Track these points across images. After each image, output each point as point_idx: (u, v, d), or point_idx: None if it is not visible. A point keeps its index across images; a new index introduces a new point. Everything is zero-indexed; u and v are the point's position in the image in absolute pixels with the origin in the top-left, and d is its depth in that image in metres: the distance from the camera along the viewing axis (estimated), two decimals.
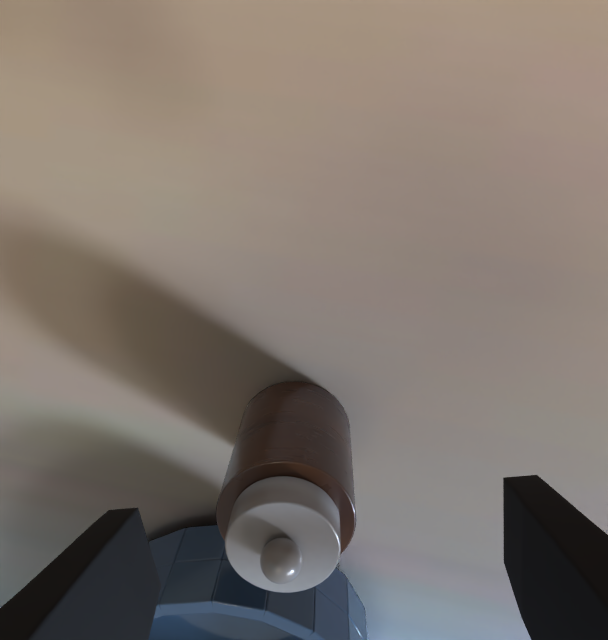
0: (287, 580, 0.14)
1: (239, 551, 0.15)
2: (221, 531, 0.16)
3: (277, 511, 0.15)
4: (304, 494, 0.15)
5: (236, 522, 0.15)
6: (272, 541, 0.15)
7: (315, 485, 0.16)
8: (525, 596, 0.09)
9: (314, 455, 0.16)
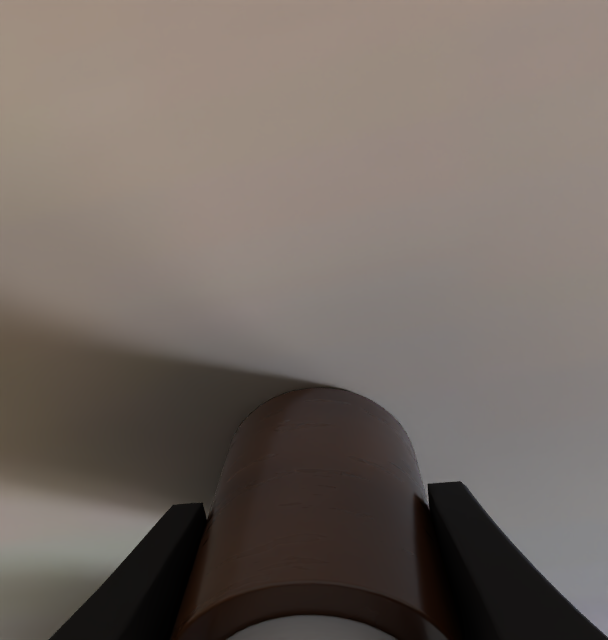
0: None
1: None
2: None
3: None
4: None
5: None
6: None
7: (340, 619, 0.07)
8: None
9: (317, 549, 0.07)
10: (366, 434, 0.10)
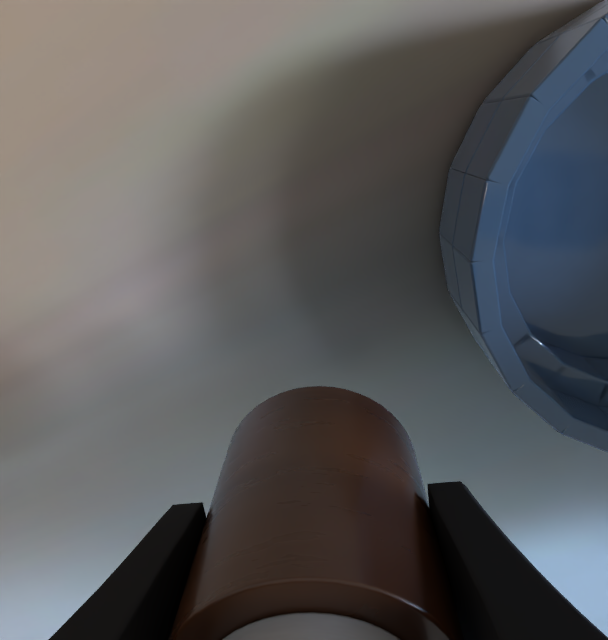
0: None
1: None
2: None
3: None
4: None
5: None
6: None
7: (339, 616, 0.07)
8: None
9: (315, 546, 0.07)
10: (365, 432, 0.10)
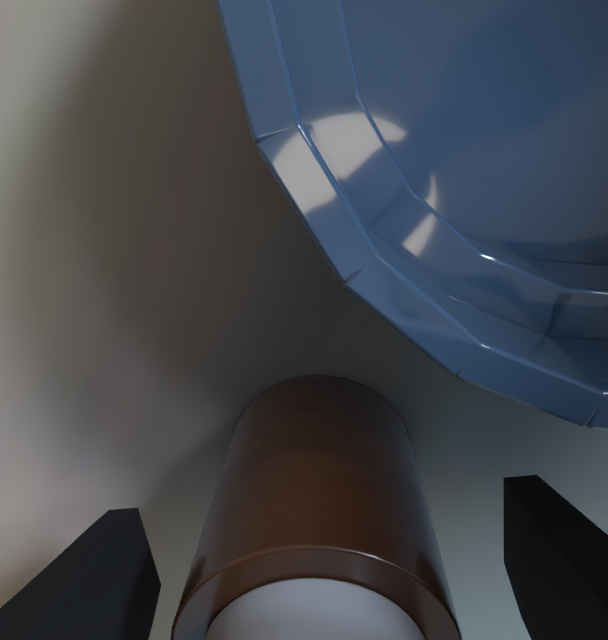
0: None
1: None
2: None
3: None
4: (311, 620, 0.06)
5: None
6: None
7: (338, 581, 0.07)
8: (525, 596, 0.09)
9: (316, 518, 0.07)
10: (363, 418, 0.10)
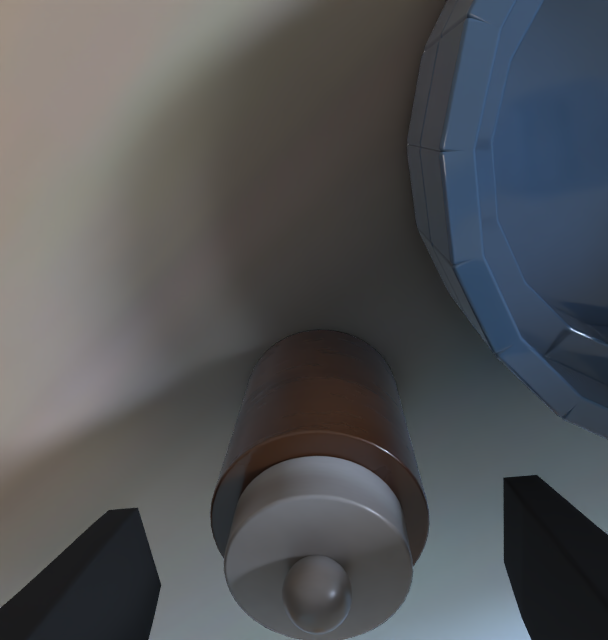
0: (330, 628, 0.08)
1: (248, 579, 0.09)
2: (220, 546, 0.11)
3: (308, 512, 0.09)
4: (350, 483, 0.09)
5: (242, 532, 0.09)
6: (301, 562, 0.09)
7: (364, 469, 0.10)
8: (525, 596, 0.09)
9: (360, 423, 0.10)
10: (381, 375, 0.13)
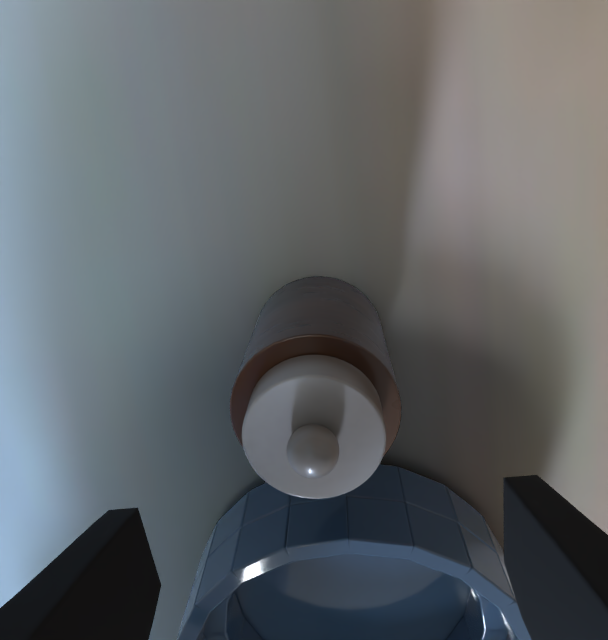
0: (300, 468, 0.11)
1: (338, 397, 0.12)
2: (342, 341, 0.12)
3: (364, 464, 0.12)
4: None
5: (377, 420, 0.12)
6: (338, 450, 0.12)
7: None
8: (525, 596, 0.09)
9: None
10: None
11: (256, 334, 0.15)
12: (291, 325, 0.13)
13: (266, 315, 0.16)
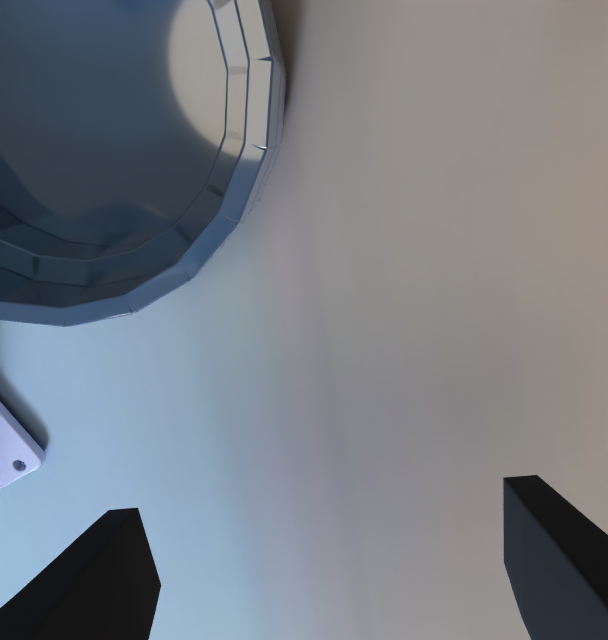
0: None
1: None
2: None
3: None
4: None
5: None
6: None
7: None
8: (525, 596, 0.09)
9: None
10: None
11: None
12: None
13: None
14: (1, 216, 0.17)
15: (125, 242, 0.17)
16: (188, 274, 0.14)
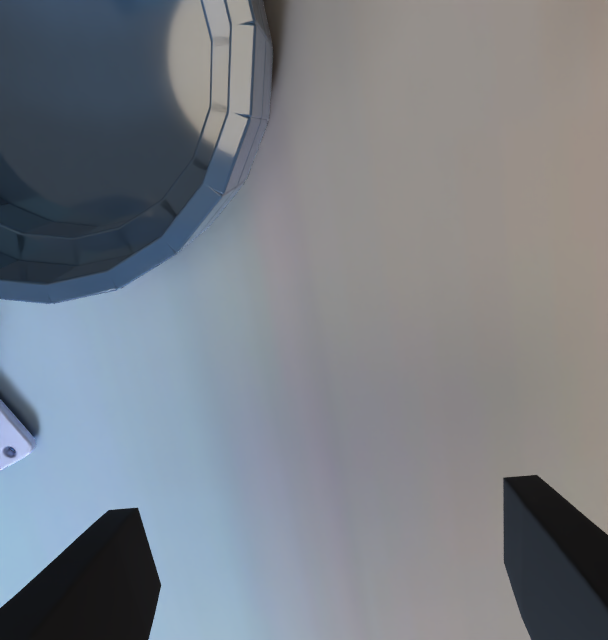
0: None
1: None
2: None
3: None
4: None
5: None
6: None
7: None
8: (525, 596, 0.09)
9: None
10: None
11: None
12: None
13: None
14: None
15: (113, 222, 0.17)
16: (173, 248, 0.13)
